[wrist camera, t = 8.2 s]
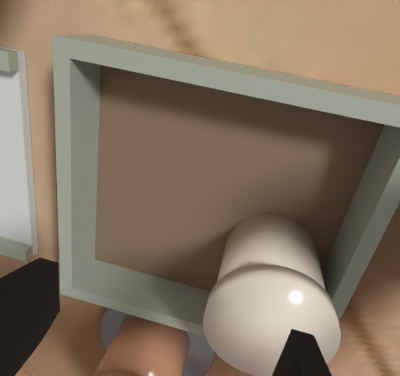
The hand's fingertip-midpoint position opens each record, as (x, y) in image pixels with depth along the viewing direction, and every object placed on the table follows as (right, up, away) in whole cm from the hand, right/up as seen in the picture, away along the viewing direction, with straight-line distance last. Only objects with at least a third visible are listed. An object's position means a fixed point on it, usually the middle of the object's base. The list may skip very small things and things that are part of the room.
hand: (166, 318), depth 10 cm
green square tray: (+2, +3, +10) cm, 10 cm away
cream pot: (+5, 0, +10) cm, 11 cm away
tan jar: (-2, -7, +15) cm, 16 cm away
